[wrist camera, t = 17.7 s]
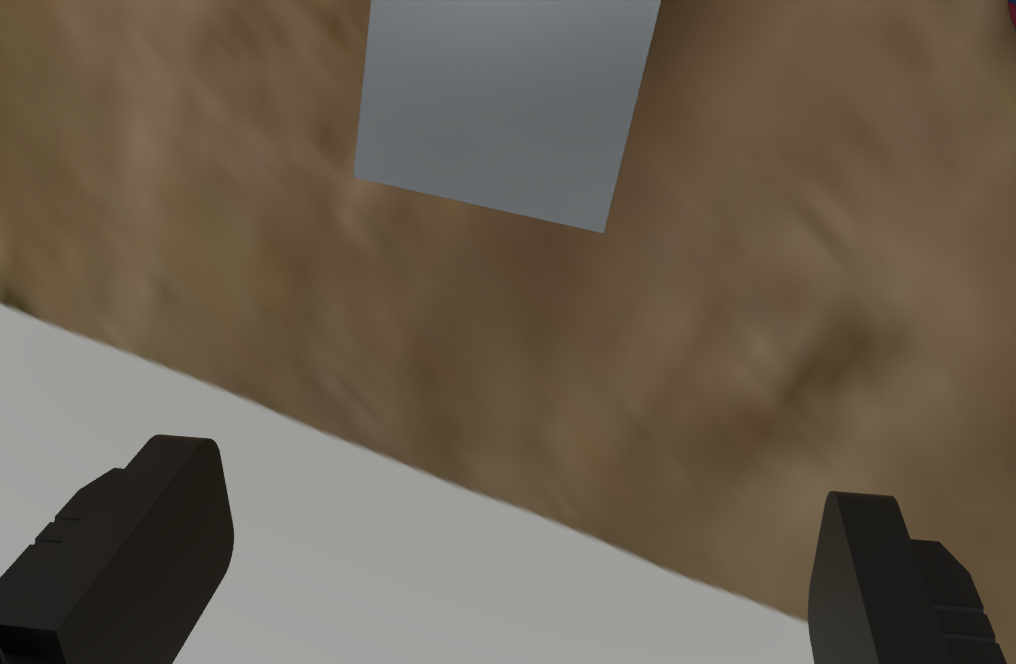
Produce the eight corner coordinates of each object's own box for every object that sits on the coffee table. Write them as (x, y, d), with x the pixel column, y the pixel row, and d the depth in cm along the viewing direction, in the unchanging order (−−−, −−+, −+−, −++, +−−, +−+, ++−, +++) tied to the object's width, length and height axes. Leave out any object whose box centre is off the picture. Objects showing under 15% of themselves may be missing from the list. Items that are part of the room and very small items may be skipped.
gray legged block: (668, -91, 34) (670, -38, 20) (627, 83, 37) (603, 233, 23) (497, -127, 34) (381, -100, 20) (469, 49, 38) (353, 176, 24)
